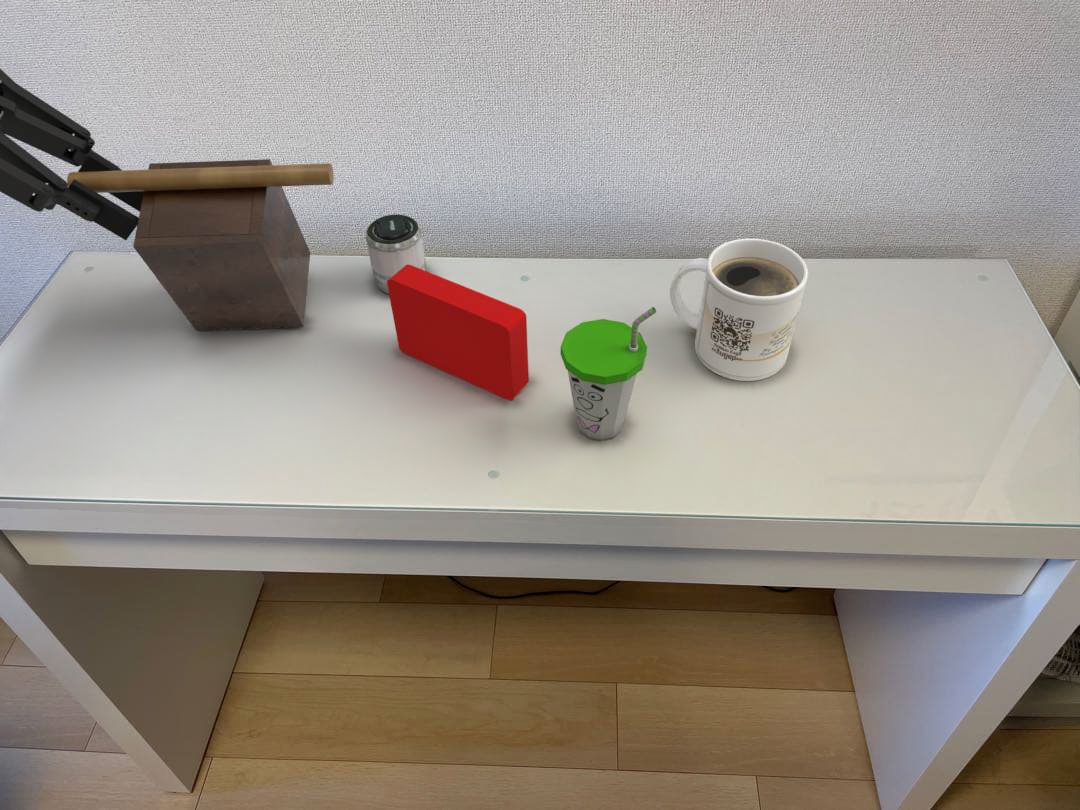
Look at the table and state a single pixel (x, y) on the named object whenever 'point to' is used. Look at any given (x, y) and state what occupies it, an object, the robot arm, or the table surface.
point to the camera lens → (394, 246)
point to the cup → (603, 372)
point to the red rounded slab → (460, 331)
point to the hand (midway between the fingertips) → (140, 215)
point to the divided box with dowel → (222, 237)
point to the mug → (745, 307)
